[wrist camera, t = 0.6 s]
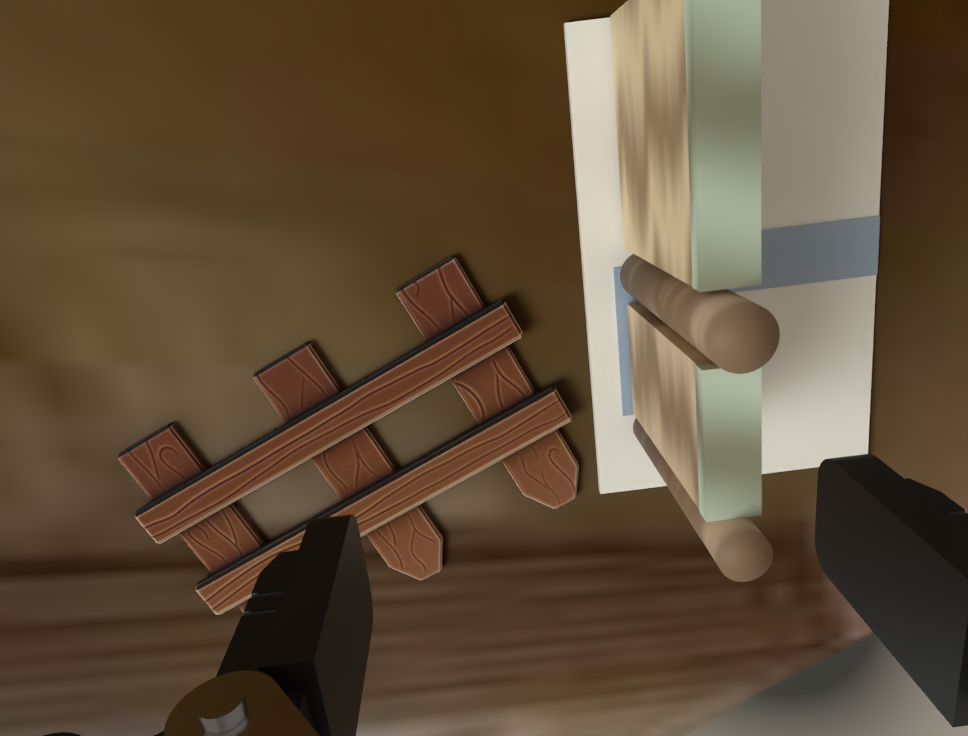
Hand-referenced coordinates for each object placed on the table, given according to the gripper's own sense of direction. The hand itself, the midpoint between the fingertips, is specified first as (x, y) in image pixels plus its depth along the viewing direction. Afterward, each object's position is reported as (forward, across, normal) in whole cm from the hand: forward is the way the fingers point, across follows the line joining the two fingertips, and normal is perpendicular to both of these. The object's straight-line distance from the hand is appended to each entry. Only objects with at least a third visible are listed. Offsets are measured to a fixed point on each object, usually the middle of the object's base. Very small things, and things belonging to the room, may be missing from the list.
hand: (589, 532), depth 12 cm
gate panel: (+24, -7, -5) cm, 26 cm away
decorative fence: (+26, +9, +10) cm, 29 cm away
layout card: (+25, -12, +1) cm, 28 cm away
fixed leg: (+24, -7, +5) cm, 26 cm away
